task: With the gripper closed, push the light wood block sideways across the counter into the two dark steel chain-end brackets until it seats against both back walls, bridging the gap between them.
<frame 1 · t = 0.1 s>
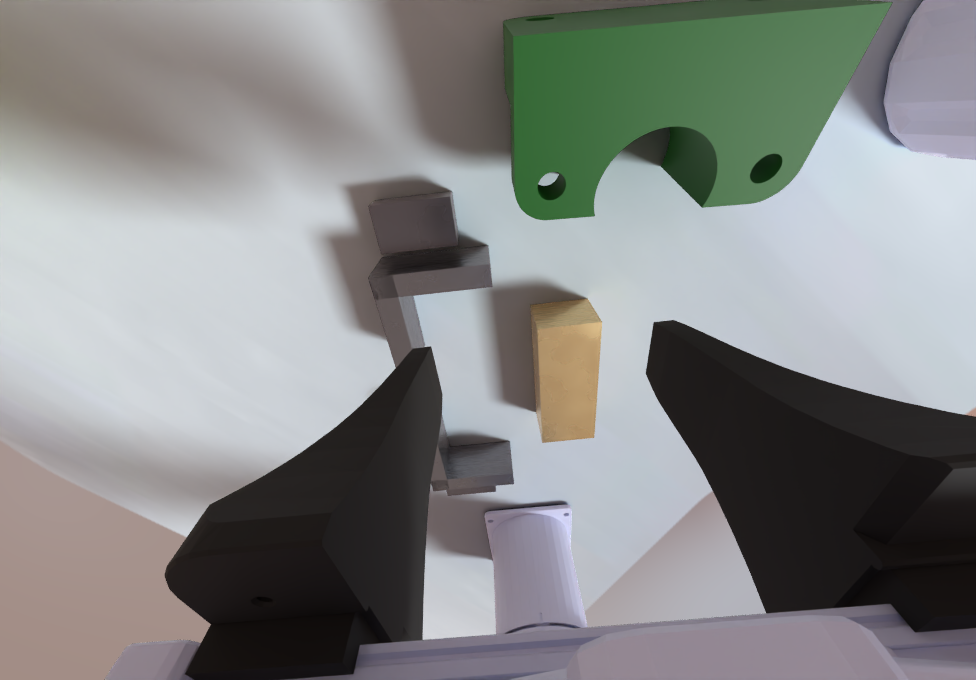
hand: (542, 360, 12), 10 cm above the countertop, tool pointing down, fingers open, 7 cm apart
chain end blocks: (457, 372, 24), on the countertop
green angular piece: (620, 111, 17), on the countertop
light wood block: (558, 359, 24), on the countertop
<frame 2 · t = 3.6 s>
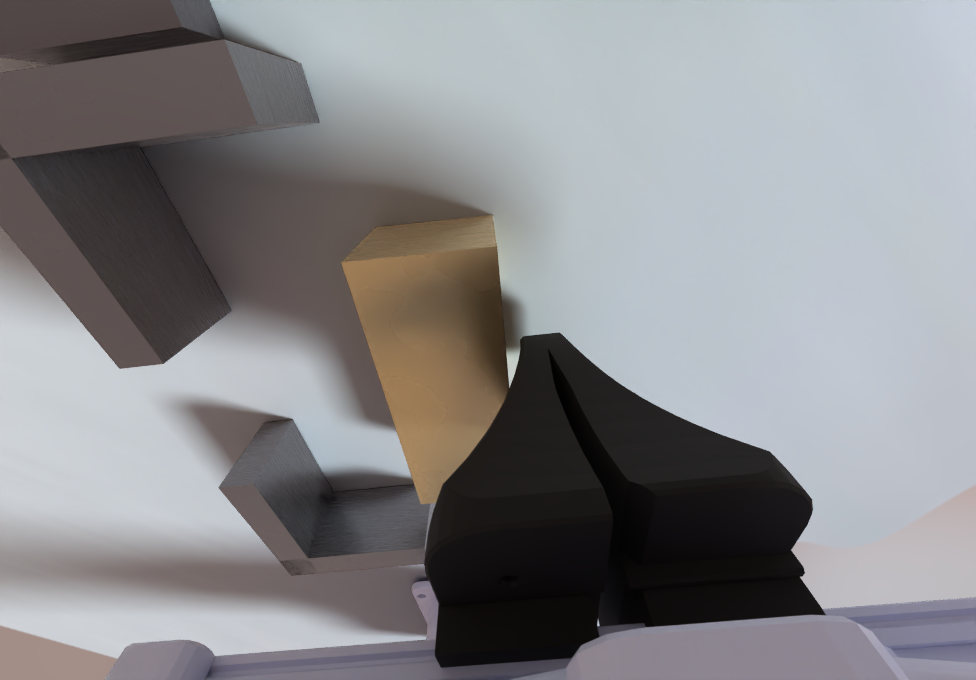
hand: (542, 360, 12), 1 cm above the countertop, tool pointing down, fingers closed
chain end blocks: (311, 365, 13), on the countertop
light wood block: (455, 345, 13), on the countertop, touching gripper
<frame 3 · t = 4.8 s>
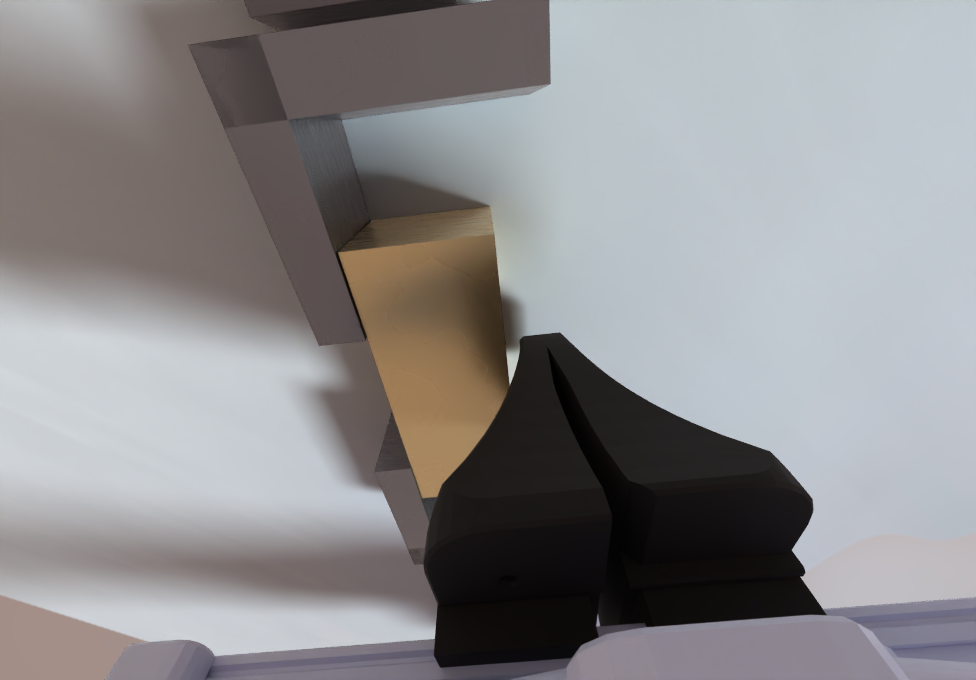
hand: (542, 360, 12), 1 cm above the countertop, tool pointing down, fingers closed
chain end blocks: (455, 349, 13), on the countertop
light wood block: (455, 339, 13), on the countertop, touching gripper
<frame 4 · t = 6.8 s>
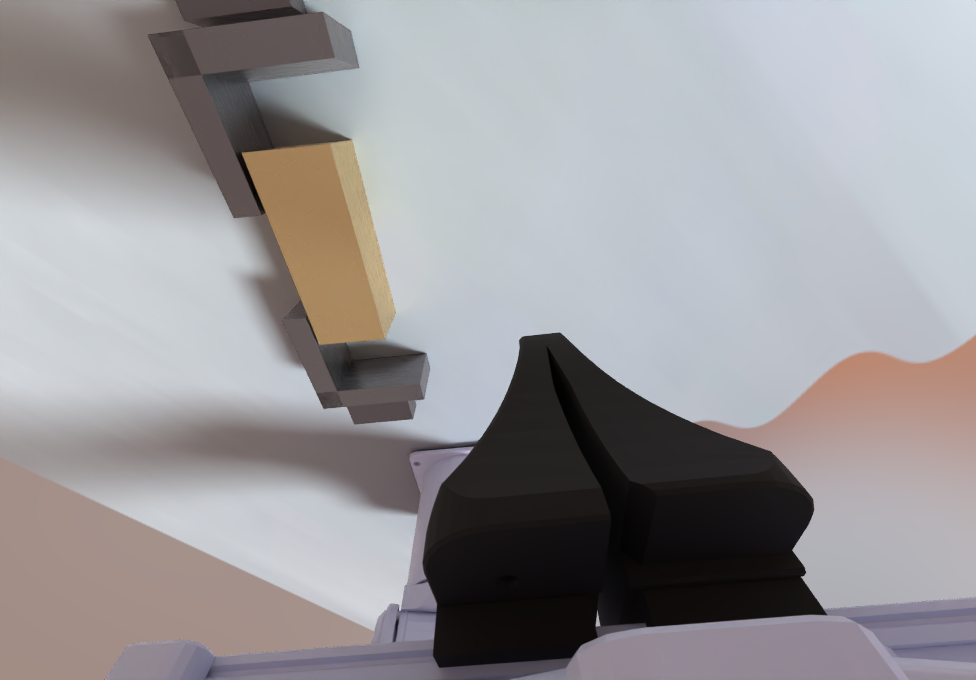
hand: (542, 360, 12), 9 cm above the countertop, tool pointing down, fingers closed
chain end blocks: (343, 246, 19), on the countertop
light wood block: (345, 239, 19), on the countertop
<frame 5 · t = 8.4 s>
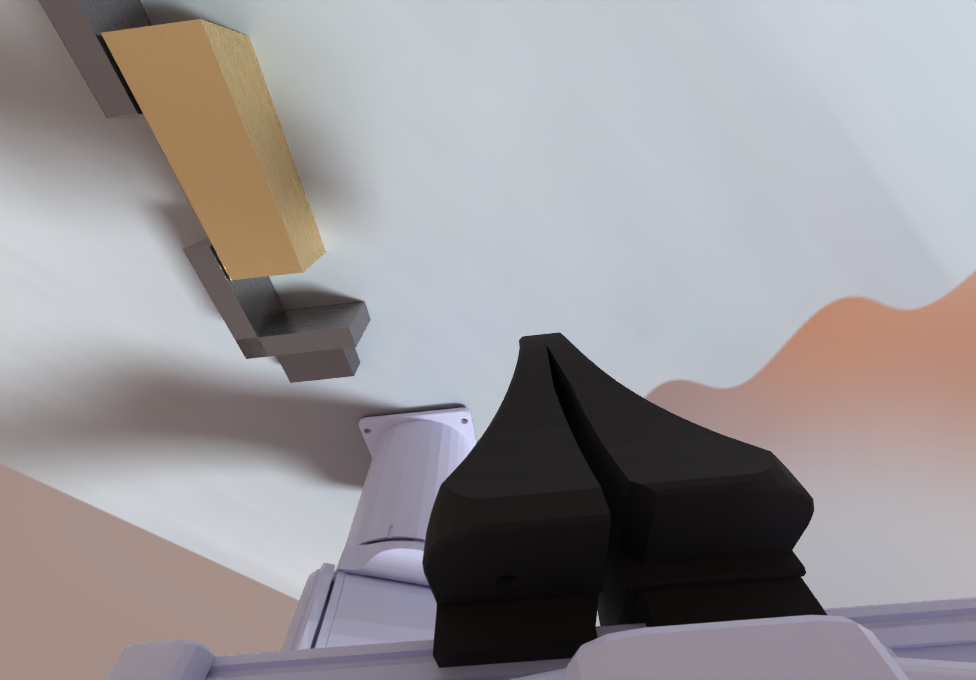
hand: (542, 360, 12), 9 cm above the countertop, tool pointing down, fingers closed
chain end blocks: (256, 171, 17), on the countertop
light wood block: (259, 163, 17), on the countertop
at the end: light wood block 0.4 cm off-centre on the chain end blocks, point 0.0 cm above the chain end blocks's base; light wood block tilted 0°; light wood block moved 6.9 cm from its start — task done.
